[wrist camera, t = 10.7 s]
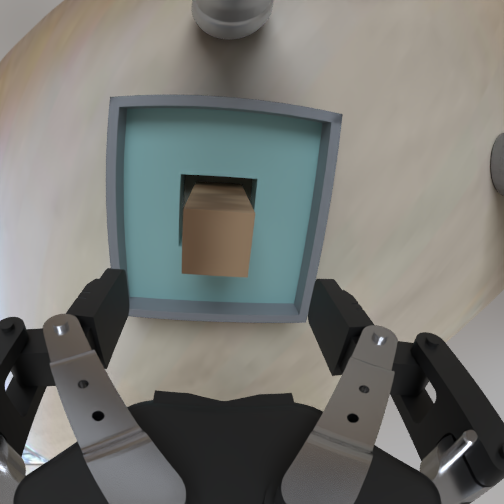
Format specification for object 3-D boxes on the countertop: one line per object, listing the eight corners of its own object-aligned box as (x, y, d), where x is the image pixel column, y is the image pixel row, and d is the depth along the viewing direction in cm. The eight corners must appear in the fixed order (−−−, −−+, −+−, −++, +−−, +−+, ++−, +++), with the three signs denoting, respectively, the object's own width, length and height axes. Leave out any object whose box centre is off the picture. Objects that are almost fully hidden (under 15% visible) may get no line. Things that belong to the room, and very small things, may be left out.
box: (320, 117, 24) (342, 114, 19) (293, 294, 30) (305, 322, 26) (129, 103, 21) (110, 97, 17) (130, 287, 28) (117, 315, 23)
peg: (241, 184, 25) (255, 213, 16) (236, 227, 27) (247, 277, 18) (196, 181, 25) (183, 208, 16) (193, 224, 26) (181, 273, 17)
